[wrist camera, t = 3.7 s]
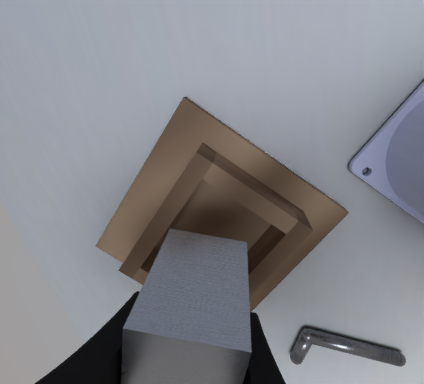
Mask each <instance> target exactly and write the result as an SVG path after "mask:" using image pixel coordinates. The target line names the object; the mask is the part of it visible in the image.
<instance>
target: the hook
mask: <svg viewBox="0 0 424 384" xmlns="http://www.w3.org/2000/svg"><path fill="white" fill-rule="evenodd" d="M312 344H314V345H318V346H322V347H326V348H330V349H334V350H337V351H341V352H345V353H349V354H353V355H357V356H361V357H365V358H368V359H372V360H376V361H380V362H384V363H388V364H392V365H395V366H404V365H405V363H406V359H405V356H404V355H403V354H402V353H401V352H398V351H395V350H391V349H387V348H383V347H379V346H375V345H372V344H368V343H364V342H360V341H356V340H352V339H348V338H345V337H341V336H337V335H333V334H329V333H325V332H321V331H318V330H314V329H310V328H304V329H303V330H302V331H301V333H300V335H299V337H298V339H297V341H296V343H295V345H294V347H293V349H292V351H291V354H290V358H291V361H292V362H293V363H294V364H297V365H298V364H301V363H302V362H303V360H304V358H305V356H306V354H307V352H308V350H309V349H310V347H311V345H312Z"/></svg>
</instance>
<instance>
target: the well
mask: <svg viewBox="0 0 424 384" xmlns="http://www.w3.org/2000/svg"><path fill="white" fill-rule="evenodd" d="M348 213H349V212H348V211H347V210H346V209H345V208H344V207H342V206H341V205H339V204H338V203H336V202H335V201H334V200H332V199H331V198H329V197H328V196H326V195H325V194H324V193H322V192H321V191H319V190H318V189H316V188H315V187H314V186H312V185H311V184H309V183H308V182H306V181H305V180H304V179H302V178H301V177H299V176H298V175H296V174H295V173H294V172H292V171H291V170H289V169H288V168H286V167H285V166H284V165H282V164H281V163H279V162H278V161H276V160H275V159H274V158H272V157H271V156H269V155H268V154H266V153H265V152H264V151H262V150H261V149H259V148H258V147H256V146H255V145H254V144H252V143H251V142H249V141H248V140H246V139H245V138H244V137H242V136H241V135H239V134H238V133H236V132H235V131H234V130H232V129H231V128H229V127H228V126H226V125H225V124H224V123H222V122H221V121H219V120H218V119H216V118H215V117H214V116H212V115H211V114H209V113H208V112H206V111H205V110H204V109H202V108H201V107H199V106H198V105H196V104H195V103H194V102H192V101H191V100H189V99H188V98H186V97H183V99H182V101H181V102H180V104H179V106H178V108H177V109H176V111H175V113H174V114H173V116H172V118H171V119H170V121H169V123H168V124H167V126H166V128H165V130H164V131H163V133H162V135H161V136H160V138H159V140H158V141H157V143H156V145H155V146H154V148H153V150H152V152H151V153H150V155H149V157H148V158H147V160H146V162H145V163H144V165H143V167H142V168H141V170H140V172H139V174H138V175H137V177H136V179H135V180H134V182H133V184H132V185H131V187H130V189H129V190H128V192H127V194H126V196H125V197H124V199H123V201H122V202H121V204H120V206H119V207H118V209H117V211H116V212H115V214H114V216H113V218H112V219H111V221H110V223H109V224H108V226H107V228H106V229H105V231H104V233H103V234H102V236H101V238H100V239H99V241H98V243H97V245H96V247H97V248H99V249H101V250H103V251H104V252H106V253H108V254H109V255H111V256H113V257H114V258H116V259H118V260H120V261H121V262H123V264H122V266H121V267H120V269H119V270H118V271H120V272H122V273H124V274H125V275H127V276H129V277H130V278H132V279H134V280H136V281H137V282H139V283H141V284H142V285H144V283H145V280H146V278H147V276H148V274H149V272H150V270H151V268H152V266H153V263H154V261H155V259H156V257H157V255H158V253H159V251H160V249H161V246H162V244H163V242H164V240H165V238H166V236H167V234H168V232H169V229H175V230H181V231H187V232H192V233H198V234H204V235H209V236H215V237H221V238H226V239H232V240H238V241H244V242H247V257H248V281H249V304H250V312H251V311H252V310H253V309H254V308H255V307H256V306H257V305H258V304H259V303H260V302H261V301H262V300H263V299H264V298H265V297H266V296H267V295H268V294H269V293H270V292H271V291H272V290H273V289H274V288H275V287H276V286H277V285H278V284H279V283H280V282H281V281H282V280H283V279H284V278H285V277H286V276H287V275H288V274H289V273H290V272H291V271H292V270H293V269H294V268H295V267H296V266H297V265H298V264H299V263H300V262H301V261H302V260H303V259H304V258H305V257H306V256H307V255H308V254H309V253H310V252H311V251H312V250H313V249H314V248H315V246H316V245H317V244H318V243H319V242H320V241H321V240H322V239H323V238H324V237H325V236H326V235H327V234H328V233H329V232H330V231H331V230H332V229H333V228H334V227H335V226H336V225H337V224H338V223H339V222H340V221H341V220H342V219H343V218H344V217H345V216H346V215H347V214H348Z"/></svg>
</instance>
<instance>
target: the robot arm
mask: <svg viewBox="0 0 424 384" xmlns="http://www.w3.org/2000/svg"><path fill="white" fill-rule="evenodd" d="M367 167H368V168H369V170H368V172H367V173H366V174H362V171H363V169H364V168H367ZM349 169H350V171H351V172H352V173H354V174H355V175H356V176H358V177H359V178H360V179H362V180H363V181H365V182H366V183H367V184H369V185H370V186H372V187H373V188H374V189H376V190H377V191H378V192H380V193H381V194H383V195H384V196H385V197H387V198H388V199H389V200H391V201H392V202H394V203H395V204H396V205H398V206H399V207H401V208H402V209H403V210H405V211H406V212H407V213H409V214H410V215H412V216H413V217H414V218H416V219H417V220H418V221H420V222H421V223H423V224H424V81H423V82H422V83H421V85H420V86H419V87H418V88H417V89H416V90H415V91H414V92H413V93H412V94H411V96H410V97H409V98H408V99H407V100H406V101H405V102H404V103H403V104H402V105H401V106H400V108H399V109H398V110H397V111H396V112H395V113H394V114H393V115H392V116H391V117H390V119H389V120H388V121H387V122H386V123H385V124H384V125H383V126H382V127H381V128H380V130H379V131H378V132H377V133H376V134H375V135H374V136H373V137H372V138H371V139H370V141H369V142H368V143H367V144H366V145H365V146H364V147H363V148H362V149H361V150H360V152H359V153H358V154H357V155H356V156H355V157H354V158H353V159H352V160H351V162H350V163H349ZM139 293H140V292H138V291H137V292H136V293H134V294H133V295H132V297H131V298H130V299H129V300H128V301H127V302H126V303H125V305H124V306H123V307H122V308H121V309H120V310H119V311H118V312H117V313H116V314H115V315H114V316H113V317H112V318H111V319H110V320H109V321H108V322H107V323H106V324H105V325H104V326H103V327H102V328H101V329H100V330H99V331H98V332H97V333H96V334H95V335H94V336H93V337H92V338H90V339H89V340H88V341H87V342H86V343H85V344H84V345H83V346H82V347H80V348H79V349H78V350H77V351H76V352H75V353H74V354H72V355H71V356H70V357H69V358H68V359H66V360H65V361H64V362H63V363H61V364H60V365H59V366H58V367H56V368H55V369H54V370H52V371H51V372H50V373H49V374H47V375H46V376H44V377H43V378H42V379H40V380H39V381H38V382H36V383H35V384H121V370H122V339H123V327H124V325H125V323H126V321H127V319H128V316H129V314H130V312H131V310H132V308H133V306H134V304H135V302H136V299H137V297H138V295H139ZM250 328H251V351H252V353H251V356H250V360H249V363H248V367H247V370H246V374H245V378H244V381H243V384H286V383H285V381H284V379H283V377H282V375H281V373H280V371H279V368H278V366H277V364H276V362H275V359H274V357H273V355H272V353H271V350H270V348H269V345H268V343H267V340H266V338H265V335H264V332H263V330H262V327H261V324H260V321H259V317H258V315H257V314H256V313H252V312H250Z"/></svg>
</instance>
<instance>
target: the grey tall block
mask: <svg viewBox="0 0 424 384" xmlns="http://www.w3.org/2000/svg"><path fill="white" fill-rule="evenodd" d="M251 353H252V351H251V328H250V304H249V281H248V257H247V242H244V241H238V240H232V239H226V238H221V237H215V236H209V235H204V234H198V233H192V232H187V231H181V230H175V229H169V232H168V234H167V236H166V238H165V240H164V242H163V244H162V246H161V249H160V251H159V253H158V255H157V257H156V259H155V261H154V263H153V266H152V268H151V270H150V272H149V274H148V276H147V278H146V280H145V283H144V285H143V287H142V289H141V291H140V293H139V295H138V297H137V299H136V302H135V304H134V306H133V308H132V310H131V312H130V314H129V316H128V319H127V321H126V323H125V325H124V327H123V339H122V370H121V384H243V381H244V378H245V374H246V370H247V367H248V363H249V360H250V356H251Z"/></svg>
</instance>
